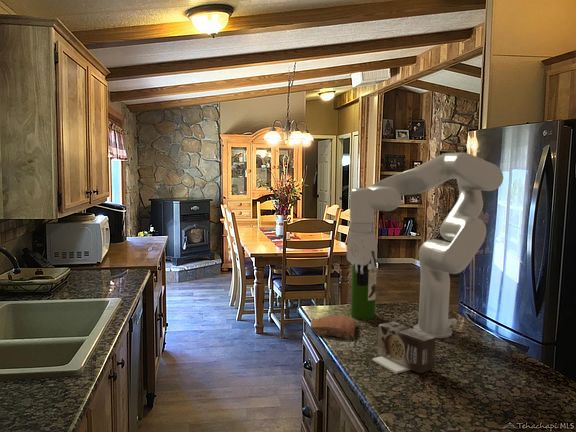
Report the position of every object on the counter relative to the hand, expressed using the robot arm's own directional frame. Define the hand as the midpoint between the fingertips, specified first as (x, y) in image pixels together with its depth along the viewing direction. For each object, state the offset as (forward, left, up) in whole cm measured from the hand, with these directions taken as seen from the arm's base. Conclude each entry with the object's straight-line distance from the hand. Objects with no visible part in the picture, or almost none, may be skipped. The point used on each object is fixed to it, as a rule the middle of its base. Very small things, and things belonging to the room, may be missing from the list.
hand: (362, 285), depth 154 cm
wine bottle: (-17, -20, -18) cm, 32 cm away
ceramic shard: (+2, -12, -19) cm, 22 cm away
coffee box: (+1, +12, -13) cm, 18 cm away
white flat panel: (+1, +19, -18) cm, 27 cm away
